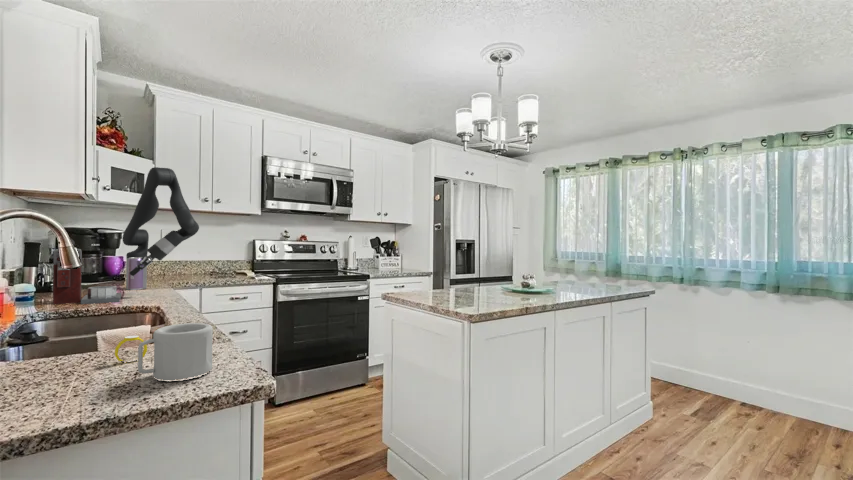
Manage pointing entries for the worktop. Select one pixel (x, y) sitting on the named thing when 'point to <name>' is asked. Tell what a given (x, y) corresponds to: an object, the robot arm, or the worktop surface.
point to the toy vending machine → (66, 282)
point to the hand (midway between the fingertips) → (131, 273)
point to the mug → (180, 351)
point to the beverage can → (137, 279)
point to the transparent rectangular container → (101, 295)
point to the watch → (129, 338)
